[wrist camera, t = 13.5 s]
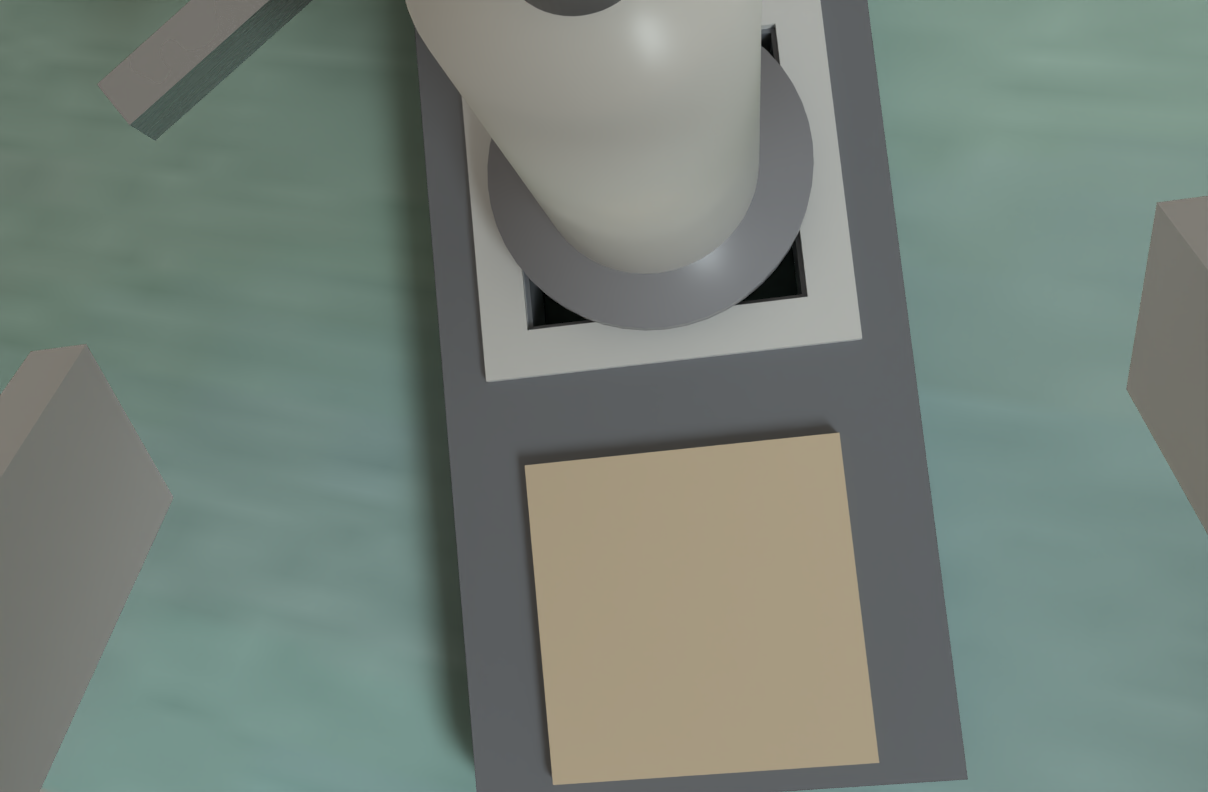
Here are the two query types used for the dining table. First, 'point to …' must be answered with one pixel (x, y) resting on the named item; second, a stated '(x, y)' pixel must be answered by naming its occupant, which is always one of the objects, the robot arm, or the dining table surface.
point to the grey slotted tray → (698, 490)
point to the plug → (632, 147)
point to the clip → (191, 58)
